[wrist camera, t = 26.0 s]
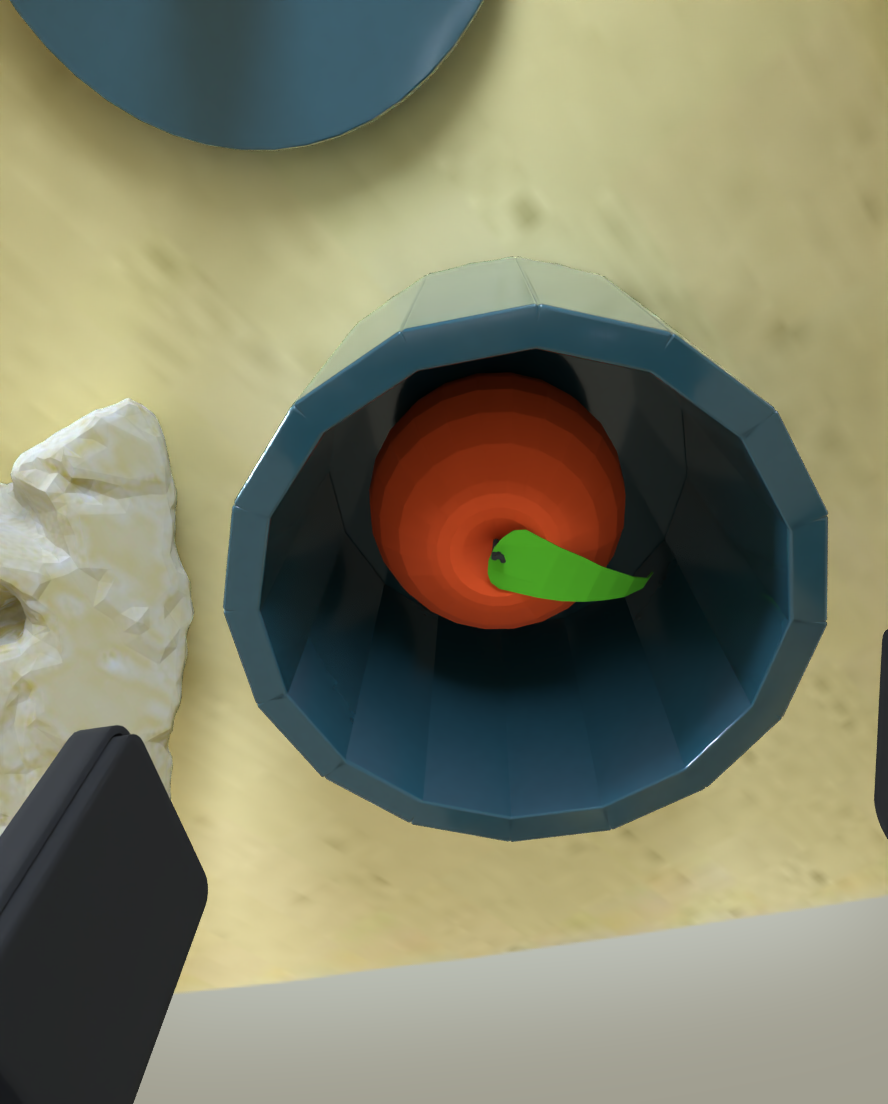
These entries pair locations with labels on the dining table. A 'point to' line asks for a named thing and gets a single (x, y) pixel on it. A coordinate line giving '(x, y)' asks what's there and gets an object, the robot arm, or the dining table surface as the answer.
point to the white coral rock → (89, 595)
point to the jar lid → (252, 61)
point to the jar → (564, 639)
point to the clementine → (500, 502)
